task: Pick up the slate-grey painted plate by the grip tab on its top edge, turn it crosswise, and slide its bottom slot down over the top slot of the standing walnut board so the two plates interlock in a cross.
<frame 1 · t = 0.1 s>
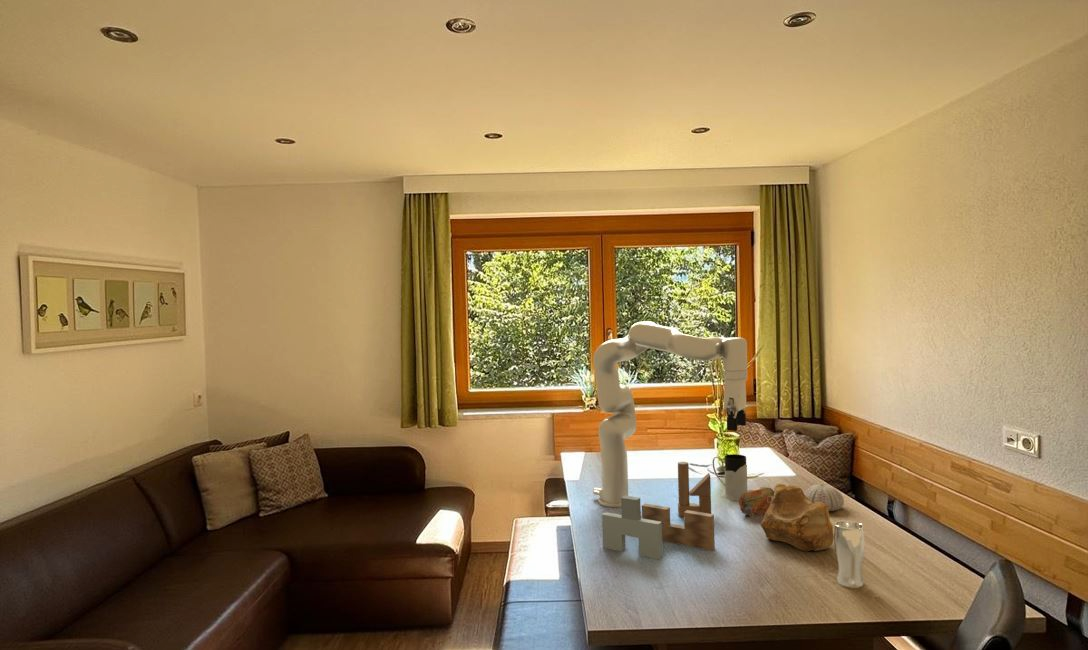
hand: (736, 427, 206), 31 cm above the table, fingers open, 9 cm apart
tin: (757, 513, 215), on the table
walnut slotted board: (677, 542, 191), on the table
beer glass: (849, 583, 161), on the table
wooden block: (694, 515, 215), on the table
rough brown rock: (790, 542, 189), on the table
sea urchin shell: (822, 508, 219), on the table
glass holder: (729, 495, 235), on the table
grey slotted plate: (632, 551, 185), on the table
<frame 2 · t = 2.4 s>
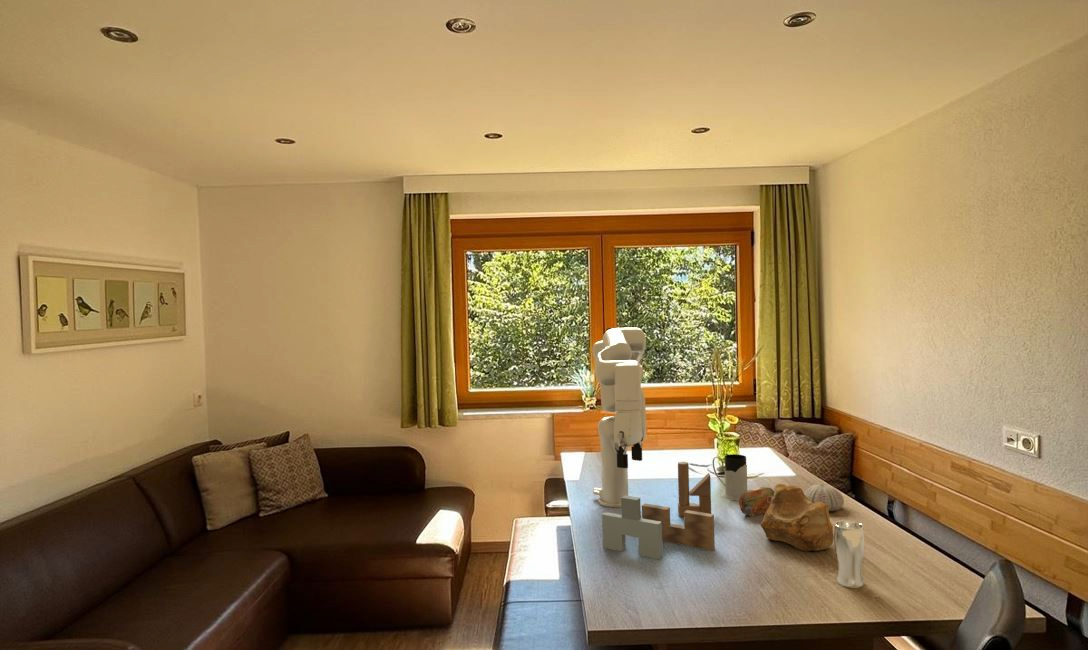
hand: (629, 463, 184), 26 cm above the table, fingers open, 9 cm apart
nothing on the table moved.
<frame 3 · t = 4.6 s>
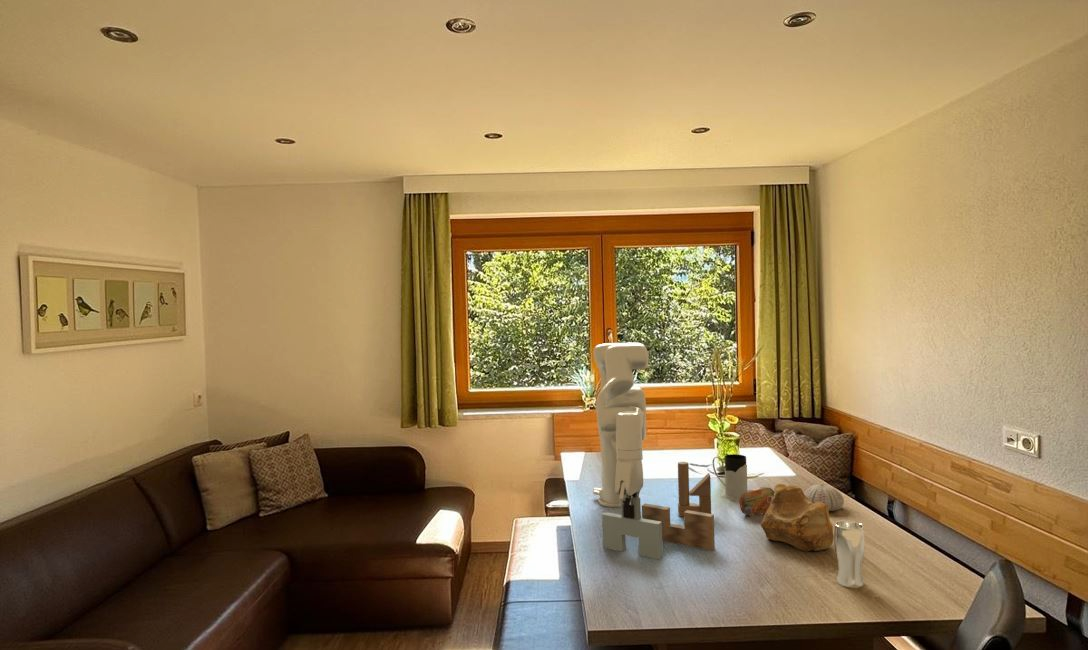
hand: (631, 515, 185), 11 cm above the table, fingers closed on grey slotted plate, 2 cm apart
grey slotted plate: (632, 551, 185), on the table, touching gripper
everything else where it was.
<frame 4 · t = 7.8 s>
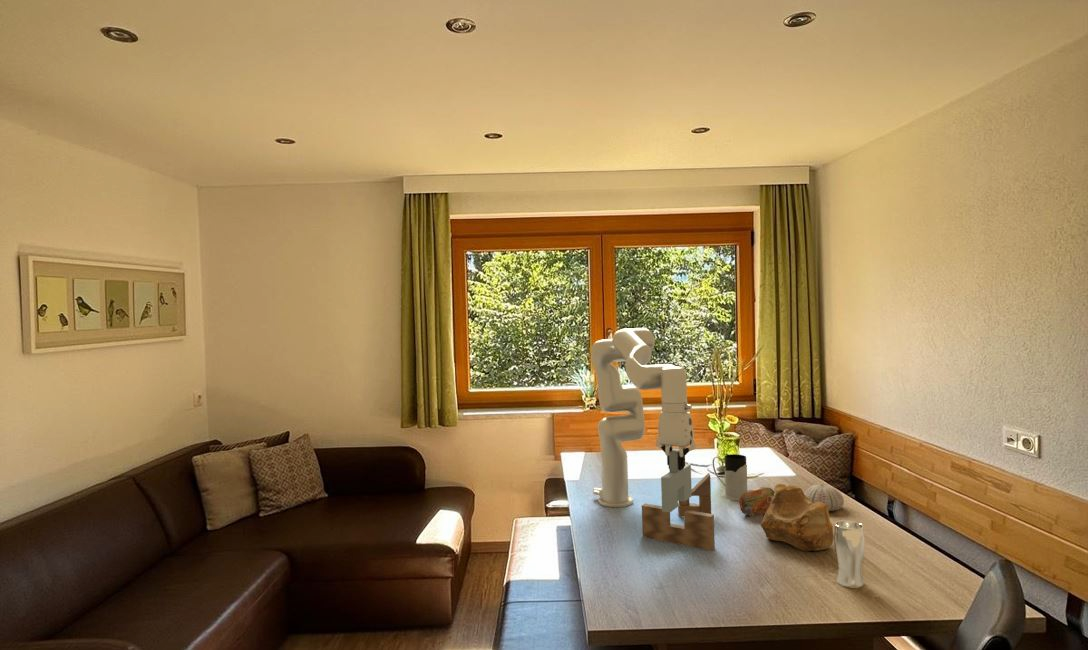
hand: (676, 468, 190), 23 cm above the table, fingers closed on grey slotted plate
grey slotted plate: (677, 503, 190), point 12 cm above the table, touching gripper
everything else where it was.
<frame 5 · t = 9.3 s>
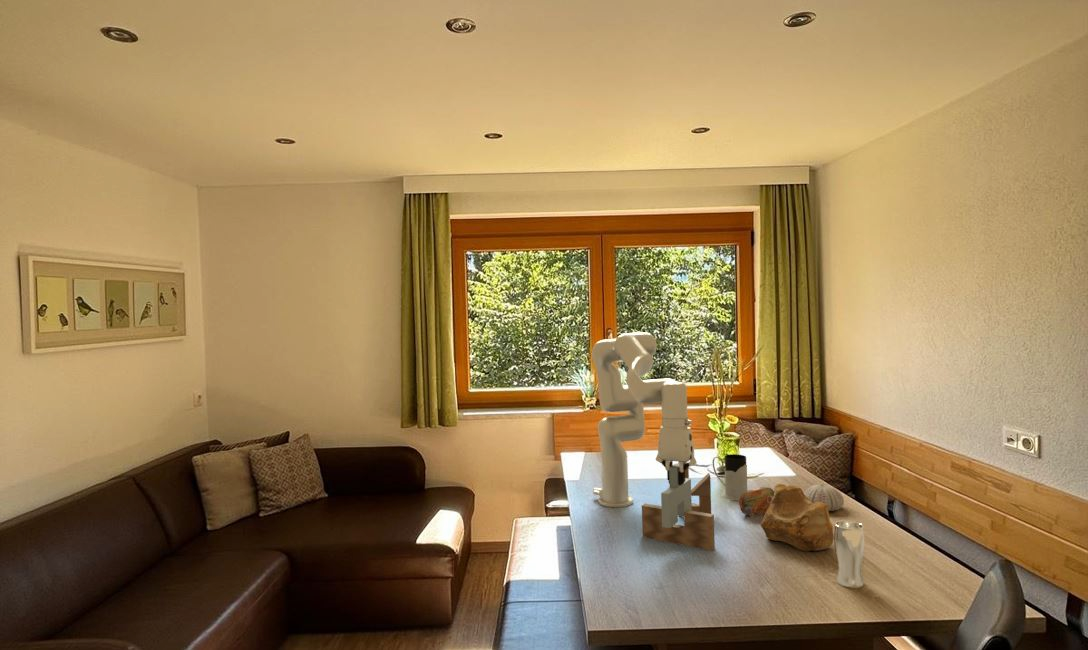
hand: (676, 483, 190), 18 cm above the table, fingers closed on grey slotted plate
grey slotted plate: (677, 518, 191), point 7 cm above the table, touching gripper
everything else where it was.
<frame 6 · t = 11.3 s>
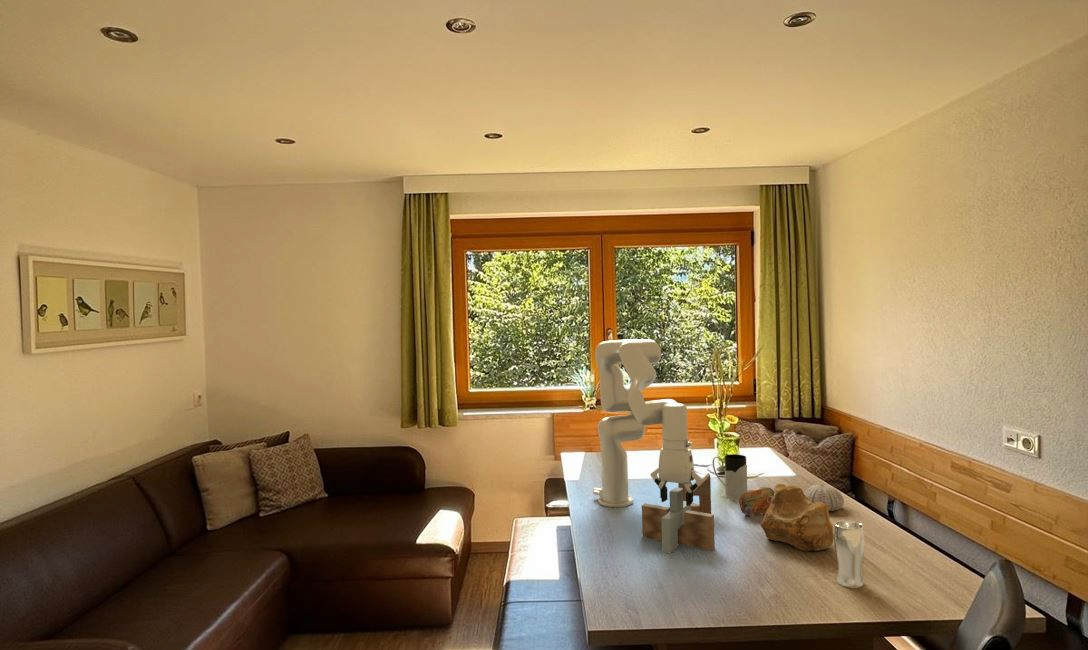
hand: (676, 502, 191), 12 cm above the table, fingers open, 7 cm apart
grey slotted plate: (677, 542, 191), on the table, touching walnut slotted board
everything else where it was.
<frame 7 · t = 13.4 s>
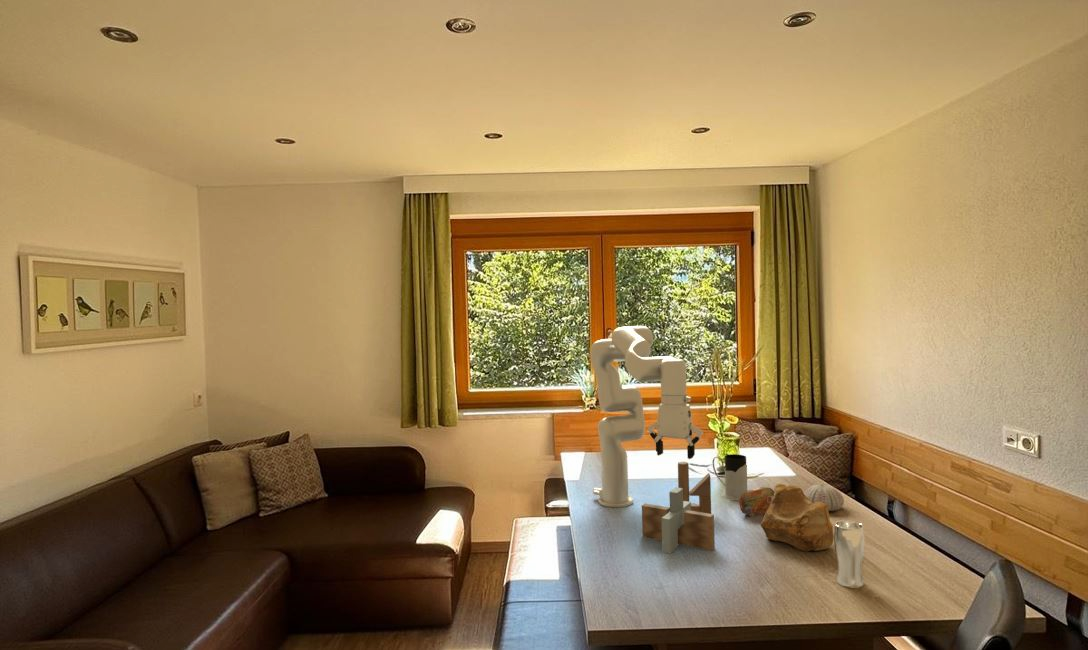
hand: (675, 456, 191), 26 cm above the table, fingers open, 9 cm apart
nothing on the table moved.
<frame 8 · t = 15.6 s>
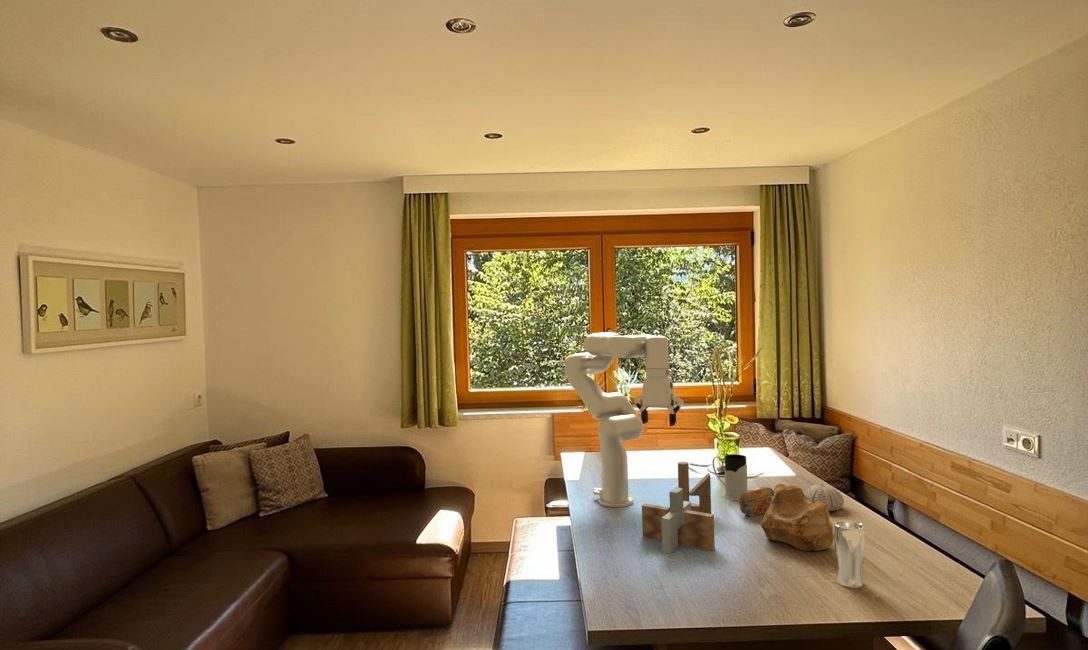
hand: (658, 424, 210), 32 cm above the table, fingers open, 9 cm apart
nothing on the table moved.
at the end: grey slotted plate 0.1 cm off-centre on the walnut slotted board, point 0.0 cm above the walnut slotted board's base; grey slotted plate tilted 0°; the gripper is holding nothing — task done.
